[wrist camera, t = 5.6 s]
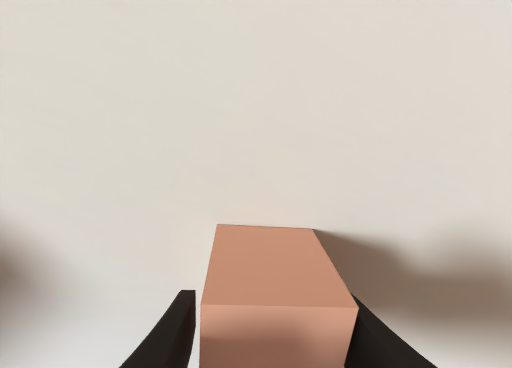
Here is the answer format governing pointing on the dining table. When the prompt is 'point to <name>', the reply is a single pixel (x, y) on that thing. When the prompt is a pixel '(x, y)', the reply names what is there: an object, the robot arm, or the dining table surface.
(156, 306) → the dining table surface
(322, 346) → the salmon pink block
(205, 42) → the dining table surface
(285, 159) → the dining table surface
